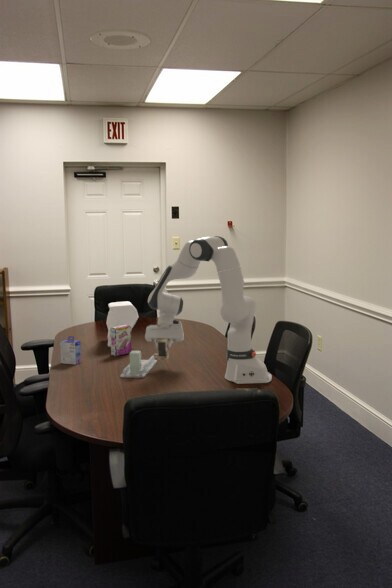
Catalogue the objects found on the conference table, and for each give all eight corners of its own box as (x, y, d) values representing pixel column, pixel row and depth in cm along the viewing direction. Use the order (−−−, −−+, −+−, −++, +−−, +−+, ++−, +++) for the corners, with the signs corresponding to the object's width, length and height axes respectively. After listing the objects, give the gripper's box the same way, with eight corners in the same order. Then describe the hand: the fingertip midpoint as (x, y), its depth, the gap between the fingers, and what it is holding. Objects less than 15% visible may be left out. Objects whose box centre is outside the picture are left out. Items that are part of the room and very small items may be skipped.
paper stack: (104, 349, 296) (102, 307, 292) (107, 338, 322) (105, 300, 318) (139, 347, 298) (138, 305, 294) (139, 337, 324) (138, 298, 321)
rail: (156, 361, 266) (156, 342, 265) (144, 377, 239) (143, 355, 237) (135, 361, 268) (134, 341, 267) (120, 377, 241) (119, 355, 239)
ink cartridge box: (82, 362, 268) (80, 336, 266) (76, 365, 263) (74, 338, 261) (66, 360, 272) (65, 335, 270) (60, 363, 267) (59, 337, 265)
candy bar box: (116, 356, 278) (114, 328, 276) (111, 355, 281) (109, 327, 279) (132, 352, 286) (130, 325, 283) (126, 351, 289) (125, 324, 287)
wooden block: (168, 357, 255) (168, 338, 254) (166, 360, 249) (165, 340, 248) (160, 357, 256) (159, 338, 254) (157, 360, 250) (157, 340, 249)
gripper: (145, 321, 259) (141, 344, 250) (183, 321, 256) (181, 344, 247) (148, 328, 264) (144, 350, 255) (185, 328, 261) (183, 350, 252)
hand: (162, 347), depth 251 cm, fingers closed on wooden block, 4 cm apart
